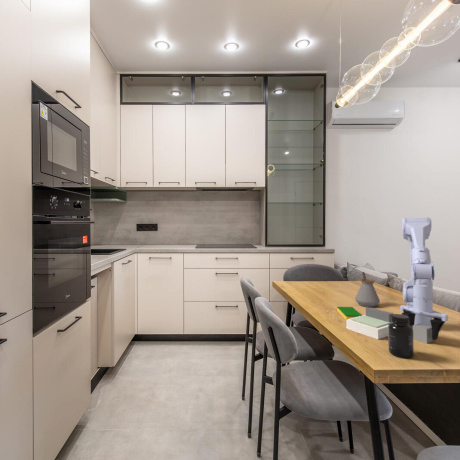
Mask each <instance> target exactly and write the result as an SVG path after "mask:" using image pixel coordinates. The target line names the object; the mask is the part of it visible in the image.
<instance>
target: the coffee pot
mask: <svg viewBox="0 0 460 460" xmlns="http://www.w3.org/2000/svg"><path fill="white" fill-rule="evenodd" d="M361 274H362V278H363V279H360V282H361V285H360V287H359V289H358V291H357V294H356V296H355V299H354V300H355V302H357V304H358V305H359V306H361V307H365V308H369V307H370V308H375V307H376V306H379V304H380V302H381V300H380V298H379V295H378V294H377V291H376V288H375V286H374V283H375V282H376V281H375V280H374V279H369V278H366V273H365V272H364V271H362V272H361Z"/></svg>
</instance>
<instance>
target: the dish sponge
mask: <svg viewBox="0 0 460 460" xmlns="http://www.w3.org/2000/svg"><path fill="white" fill-rule="evenodd" d="M336 308H337V309H336V310H337V312H338V314H340V315H341V316H342V317H343V318H344V320H345V321H346V320H347V319H351V318H355V317H359V316H362V315H363V314H361V313H360V312H359V311H358V310H357V309H355V308H354V307H353V306H337V307H336Z"/></svg>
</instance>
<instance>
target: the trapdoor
mask: <svg viewBox="0 0 460 460" xmlns="http://www.w3.org/2000/svg"><path fill="white" fill-rule="evenodd" d="M393 314H394V313H393V312H390V311H386V310H381V309H377V308H375V307H365V314H364V315H365V316H361V317H357V318H353V319H352V321H355V322H358V323H362V324H365V325H368V326H371V327H374V328H380V327H383V326H386V325H389V324H390V323H392V321H391V315H393Z"/></svg>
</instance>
